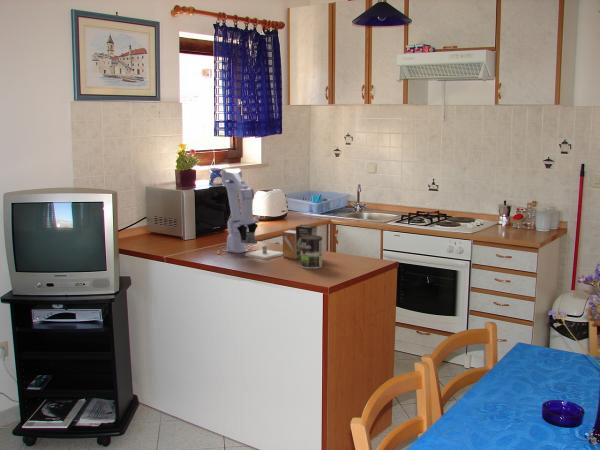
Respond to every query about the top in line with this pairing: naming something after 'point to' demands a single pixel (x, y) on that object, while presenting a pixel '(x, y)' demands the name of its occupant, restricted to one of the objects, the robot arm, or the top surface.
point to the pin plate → (264, 253)
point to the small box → (289, 244)
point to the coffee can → (311, 252)
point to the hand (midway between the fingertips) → (247, 239)
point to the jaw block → (249, 238)
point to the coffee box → (303, 231)
